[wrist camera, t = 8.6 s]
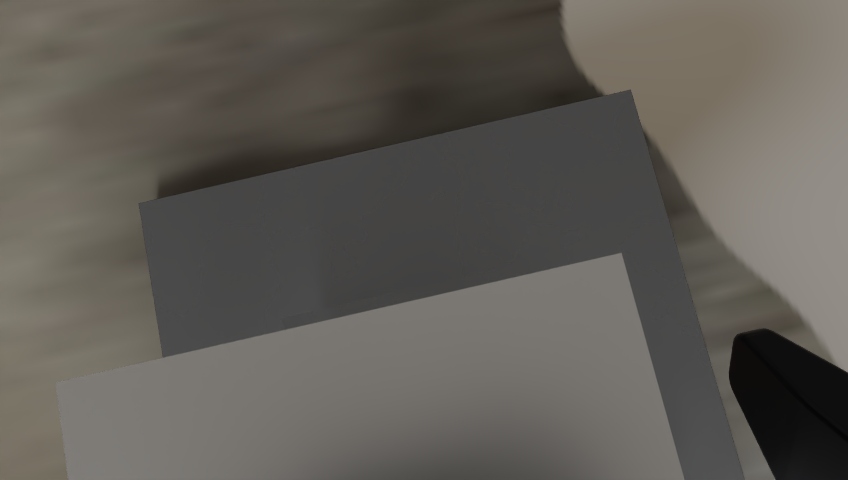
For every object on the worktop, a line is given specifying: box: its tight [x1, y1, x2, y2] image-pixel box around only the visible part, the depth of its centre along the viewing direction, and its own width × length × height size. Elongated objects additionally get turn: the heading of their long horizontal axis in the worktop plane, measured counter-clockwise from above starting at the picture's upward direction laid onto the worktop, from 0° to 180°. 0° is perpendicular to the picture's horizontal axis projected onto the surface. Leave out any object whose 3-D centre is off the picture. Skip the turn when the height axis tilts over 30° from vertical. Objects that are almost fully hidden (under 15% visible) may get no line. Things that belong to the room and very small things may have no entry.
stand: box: [139, 90, 745, 480], centre depth 17 cm, size 16×16×6 cm
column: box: [56, 253, 684, 480], centre depth 9 cm, size 4×4×11 cm
